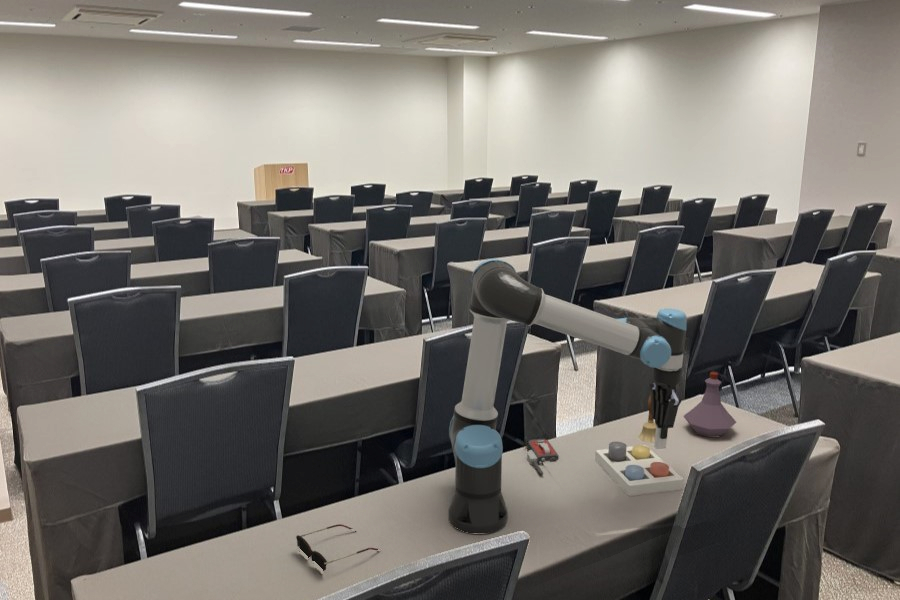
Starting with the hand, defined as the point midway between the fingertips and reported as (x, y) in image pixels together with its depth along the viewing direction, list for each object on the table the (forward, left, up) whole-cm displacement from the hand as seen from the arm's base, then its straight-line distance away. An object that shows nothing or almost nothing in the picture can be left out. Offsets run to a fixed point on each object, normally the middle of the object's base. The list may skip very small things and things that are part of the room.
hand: (660, 447), depth 208 cm
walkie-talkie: (-26, +21, -12) cm, 36 cm away
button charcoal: (-7, +11, -8) cm, 15 cm away
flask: (+34, +28, -12) cm, 46 cm away
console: (-3, +5, -11) cm, 13 cm away
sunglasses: (-89, -12, -12) cm, 91 cm away
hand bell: (+12, +26, -12) cm, 31 cm away
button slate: (-7, 0, -10) cm, 12 cm away
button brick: (0, 0, -10) cm, 10 cm away
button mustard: (0, +11, -10) cm, 15 cm away
